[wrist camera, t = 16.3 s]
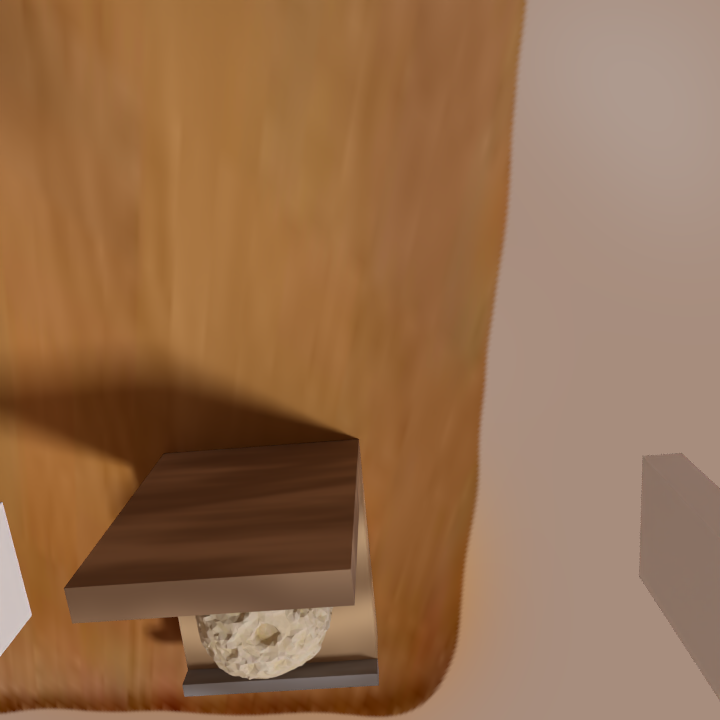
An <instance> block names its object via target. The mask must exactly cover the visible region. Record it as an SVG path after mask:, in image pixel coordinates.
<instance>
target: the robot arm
mask: <svg viewBox="0 0 720 720" xmlns="http://www.w3.org/2000/svg"><path fill="white" fill-rule="evenodd" d="M642 459H643V460H642V494H641V533H640V566H639V577H640V578H641V579H642V581H643V583H644V584H645V586H646V588H647V589H648V591H649V592H650V594H651V595H652V597H653V598H654V600H655V601H656V603H657V605H658V606H659V608H660V609H661V611H662V612H663V614H664V615H665V617H666V618H667V620H668V622H669V623H670V625H671V626H672V628H673V629H674V631H675V632H676V634H677V635H678V637H679V639H680V640H681V641H682V643H683V644H684V646H685V648H686V649H687V651H688V652H689V654H690V655H691V657H692V659H693V660H694V662H695V663H696V665H697V666H698V668H699V669H700V671H701V672H702V674H703V675H704V677H705V679H706V680H707V682H708V683H709V685H710V686H711V688H712V689H713V691H714V693H715V694H716V696H717V697H718V699H719V700H720V488H719V487H718V486H717V485H716V484H715V483H713V482H712V481H711V480H710V479H709V478H708V477H707V476H706V475H705V474H704V473H703V472H701V470H699V469H698V468H697V467H696V466H695V465H694V464H693V463H692V462H691V461H690V460H689V459H688V458H687V457H685V456H684V455H683V454H682V453H675V454H663V455H662V454H661V455H647V456H643V458H642ZM31 616H32V614H31V610H30V606H29V603H28V599H27V595H26V591H25V587H24V583H23V579H22V576H21V572H20V568H19V564H18V560H17V556H16V553H15V549H14V545H13V541H12V537H11V533H10V529H9V526H8V522H7V518H6V514H5V510H4V506H3V502H0V656H1V655H2V653H3V652H4V651H5V649H6V648H7V647H8V646H9V644H10V643H11V642H12V640H13V639H14V638H15V636H16V635H17V634H18V633H19V631H20V630H21V629H22V627H23V626H24V625H25V623H26V622H27V621H28V620H29V618H30V617H31Z"/></svg>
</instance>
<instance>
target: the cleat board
mask: <svg viewBox="0 0 720 720" xmlns="http://www.w3.org/2000/svg"><path fill="white" fill-rule="evenodd" d="M64 590H65V595H66V599H67V603H68V607H69V611H70V615H71V619H72V623H85V622H101V621H117V620H133V619H148V618H164V617H178V619H179V625H180V630H181V635H182V640H183V646H184V651H185V656H186V661H187V667H188V672H187V674H186V677H185V680H184V682H183V690H184V695H185V696H203V695H220V694H237V693H254V692H272V691H289V690H306V689H324V688H341V687H358V686H376V685H379V669H378V659H377V623H376V612H375V602H374V592H373V581H372V571H371V561H370V550H369V540H368V530H367V519H366V509H365V499H364V488H363V478H362V468H361V457H360V447H359V439H353V440H339V441H326V442H313V443H299V444H286V445H273V446H259V447H246V448H232V449H219V450H206V451H192V452H179V453H165V454H163V455H162V457H161V458H160V460H159V461H158V462H157V464H156V465H155V466H154V468H153V469H152V470H151V472H150V473H149V474H148V476H147V477H146V478H145V480H144V481H143V482H142V484H141V485H140V486H139V488H138V489H137V491H136V492H135V493H134V495H133V496H132V497H131V499H130V500H129V501H128V503H127V504H126V505H125V507H124V508H123V509H122V511H121V512H120V513H119V515H118V516H117V517H116V519H115V520H114V522H113V523H112V524H111V526H110V527H109V528H108V530H107V531H106V532H105V534H104V535H103V536H102V538H101V539H100V540H99V542H98V543H97V544H96V546H95V547H94V548H93V550H92V551H91V553H90V554H89V555H88V557H87V558H86V559H85V561H84V562H83V563H82V565H81V566H80V567H79V569H78V570H77V571H76V573H75V574H74V575H73V577H72V578H71V579H70V581H69V582H68V584H67V585H66V586H65V588H64ZM322 607H333V609H332V615H331V621H330V627H329V629H328V630H327V631H326V634H325V637H324V639H323V642H322V644H321V649H320V651H319V652H318V653H317V654H316V655H315V656H314V657H313V658H312V659H310V660H308V661H306V662H305V663H304V664H303V665H302V666H298V667H297V668H295V669H293V670H291V671H288V672H286V673H284V674H282V675H279V676H277V677H273V678H269V679H255V678H254V679H250V680H249V679H248V678H242V677H240V676H232V675H230V674H228V673H226V672H225V671H224V670H222V669H220V668H219V667H218V665H217V664H216V662H215V661H214V660H213V658H212V657H210V656H209V654H208V653H207V651H206V649H205V648H204V646H203V645H202V643H201V640H200V636H199V632H198V627H197V621H196V618H195V616H196V615H212V614H227V613H243V612H259V611H275V610H290V609H306V608H322Z"/></svg>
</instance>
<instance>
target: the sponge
mask: <svg viewBox="0 0 720 720" xmlns="http://www.w3.org/2000/svg"><path fill="white" fill-rule="evenodd" d="M332 609H333V607H322V608H306V609H290V610H275V611H259V612H243V613H227V614H212V615H196V616H195V618H196V621H197V627H198V632H199V636H200V640H201V643H202V645H203V646H204V648H205V649H206V651H207V653H208V654H209V656H210V657H212V658H213V660H214V661H215V662H216V664H217V665H218V667H219V668H220V669H222V670H224V671H225V672H226V673H228V674H230V675H232V676H240V677H242V678H248V679H249V680H250V679H254V678H255V679H269V678H273V677H277V676H279V675H282V674H284V673H286V672H288V671H291V670H293V669H295V668H297V667H298V666H302V665H303V664H304V663H305V662H306V661H308V660H310V659H312V658H313V657H314V656H315V655H316V654H317V653H318V652H319V651H320V649H321V644H322V642H323V639H324V637H325V634H326V631H327V630H328V629H329V627H330V621H331V615H332Z"/></svg>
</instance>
